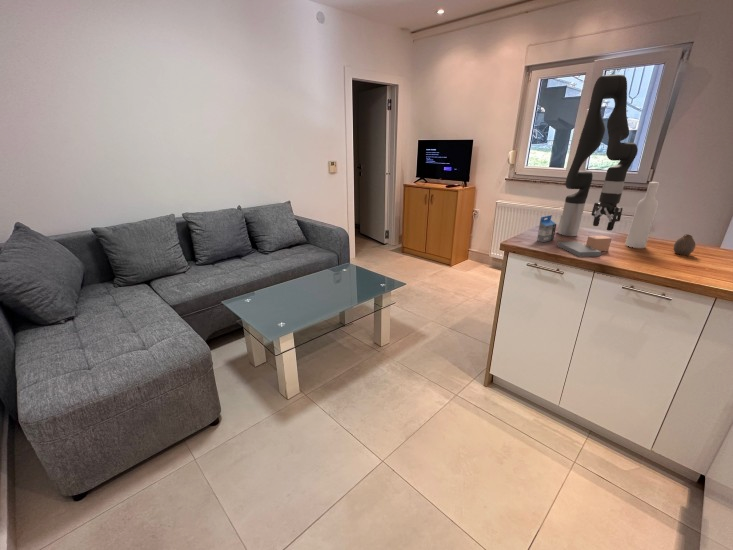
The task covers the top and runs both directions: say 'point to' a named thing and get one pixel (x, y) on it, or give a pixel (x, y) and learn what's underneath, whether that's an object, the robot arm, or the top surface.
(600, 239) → the tan rectangular block
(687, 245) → the grey pear shaped lump
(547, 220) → the label tape box
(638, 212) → the bottle
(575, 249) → the board
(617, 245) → the top surface
